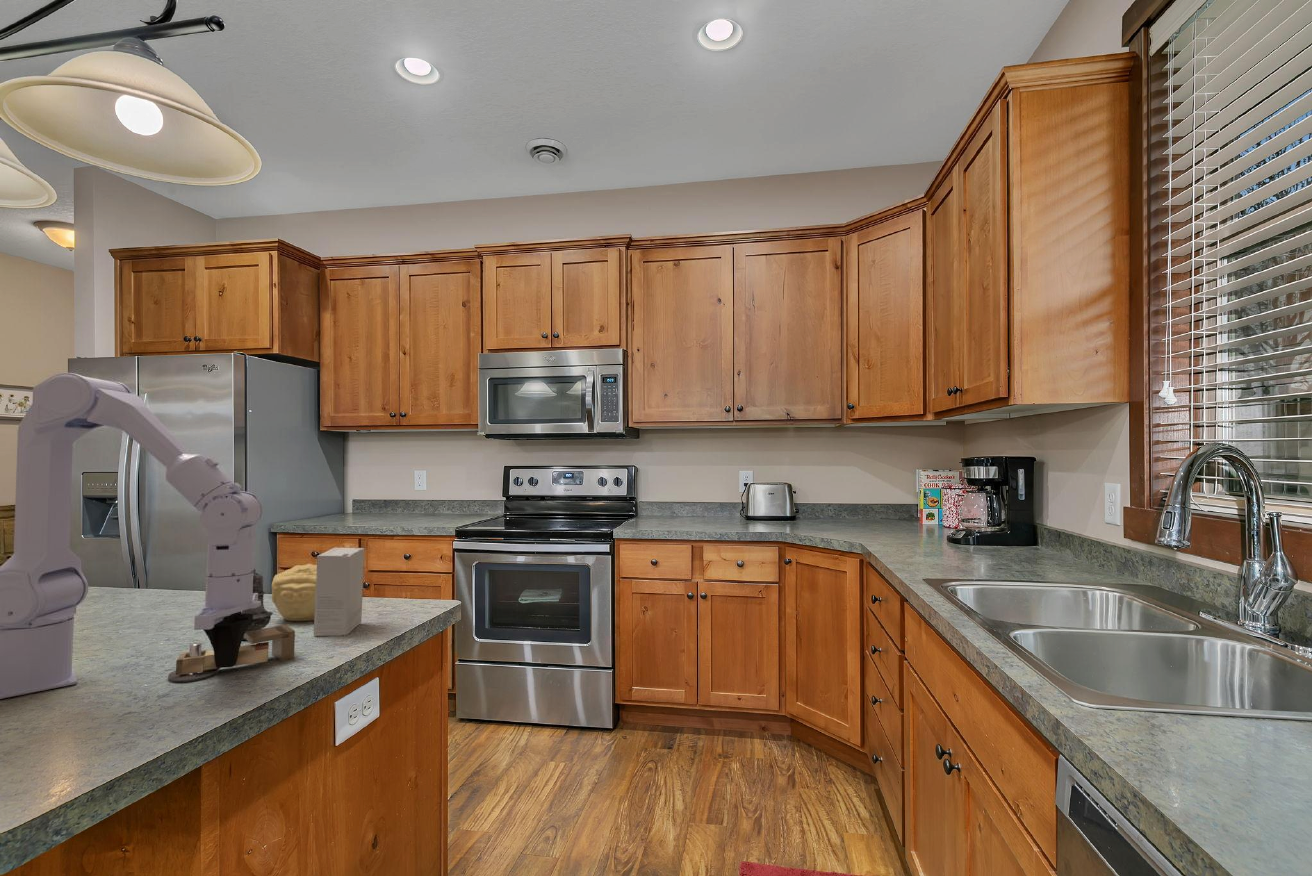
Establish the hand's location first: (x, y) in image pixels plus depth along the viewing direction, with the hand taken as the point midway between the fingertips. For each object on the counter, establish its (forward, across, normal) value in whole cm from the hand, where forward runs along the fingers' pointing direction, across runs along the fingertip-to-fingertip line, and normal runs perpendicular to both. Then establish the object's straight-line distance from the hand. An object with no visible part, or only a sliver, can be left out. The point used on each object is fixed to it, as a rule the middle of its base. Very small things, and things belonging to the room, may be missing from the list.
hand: (226, 666), depth 87 cm
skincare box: (+1, +21, -9) cm, 23 cm away
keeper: (+1, +6, -3) cm, 7 cm away
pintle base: (+1, +1, +4) cm, 5 cm away
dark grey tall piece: (+1, +20, +5) cm, 21 cm away
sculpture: (+1, +32, 0) cm, 32 cm away
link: (0, +2, +1) cm, 2 cm away
